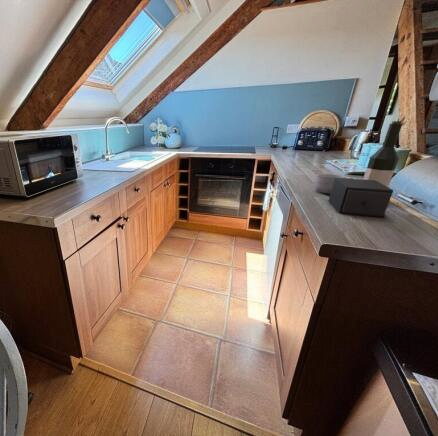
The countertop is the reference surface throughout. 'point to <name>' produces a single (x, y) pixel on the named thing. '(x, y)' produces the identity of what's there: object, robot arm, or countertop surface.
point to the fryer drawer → (366, 202)
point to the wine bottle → (384, 157)
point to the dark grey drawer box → (345, 184)
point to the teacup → (326, 182)
